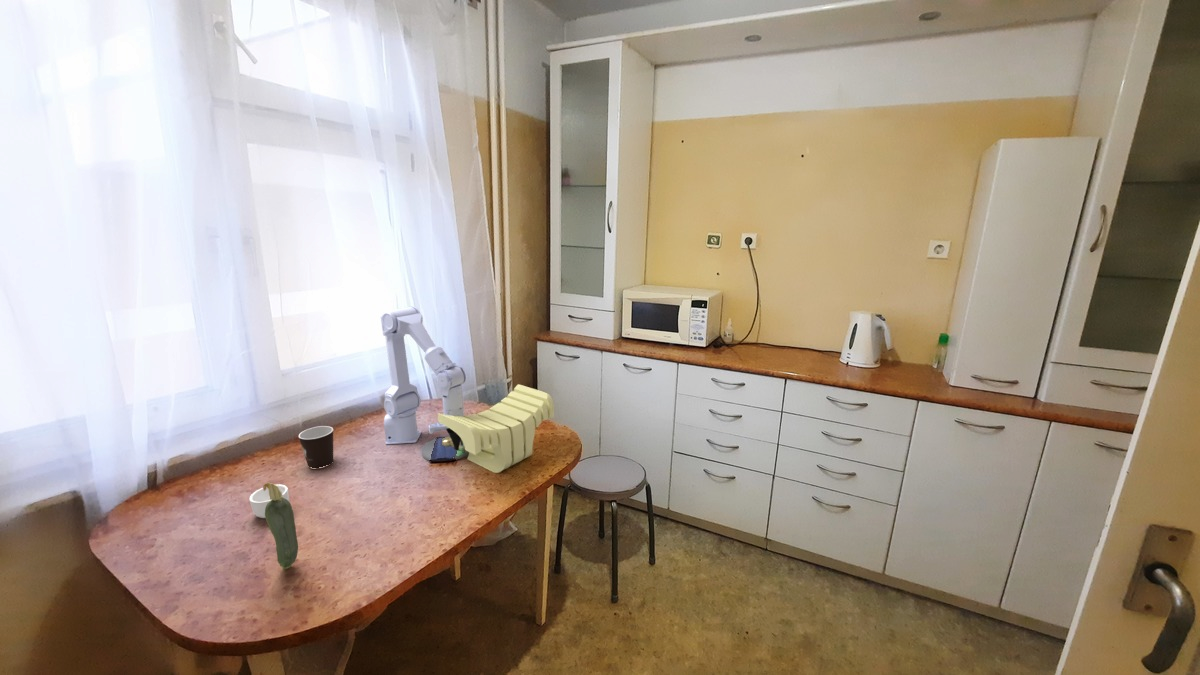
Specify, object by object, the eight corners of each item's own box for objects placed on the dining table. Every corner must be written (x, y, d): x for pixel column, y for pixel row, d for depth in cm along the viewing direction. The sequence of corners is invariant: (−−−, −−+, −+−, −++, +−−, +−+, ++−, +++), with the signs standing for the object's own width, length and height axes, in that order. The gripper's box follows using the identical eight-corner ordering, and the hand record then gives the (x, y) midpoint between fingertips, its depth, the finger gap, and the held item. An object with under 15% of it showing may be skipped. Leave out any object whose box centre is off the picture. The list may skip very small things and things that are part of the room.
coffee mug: (335, 468, 132) (330, 436, 130) (300, 473, 129) (295, 441, 126) (341, 449, 142) (336, 420, 140) (309, 454, 139) (304, 424, 137)
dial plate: (416, 464, 134) (415, 460, 134) (427, 439, 150) (427, 436, 149) (472, 460, 137) (471, 456, 136) (477, 436, 152) (477, 433, 152)
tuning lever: (439, 446, 142) (438, 431, 141) (448, 441, 145) (447, 427, 144) (463, 453, 137) (462, 438, 136) (472, 448, 141) (471, 433, 139)
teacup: (294, 513, 112) (291, 493, 110) (256, 527, 106) (251, 506, 105) (285, 496, 118) (282, 477, 117) (249, 508, 113) (245, 489, 112)
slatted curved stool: (477, 490, 122) (473, 428, 117) (442, 470, 131) (437, 413, 127) (554, 447, 145) (553, 395, 140) (520, 434, 154) (518, 384, 150)
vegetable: (306, 561, 96) (291, 475, 91) (294, 576, 91) (277, 488, 87) (285, 561, 96) (269, 476, 91) (271, 577, 91) (253, 488, 86)
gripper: (430, 417, 127) (434, 461, 131) (481, 406, 135) (484, 448, 138) (425, 408, 133) (429, 451, 136) (474, 399, 141) (477, 439, 144)
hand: (456, 449), depth 138 cm, fingers closed
